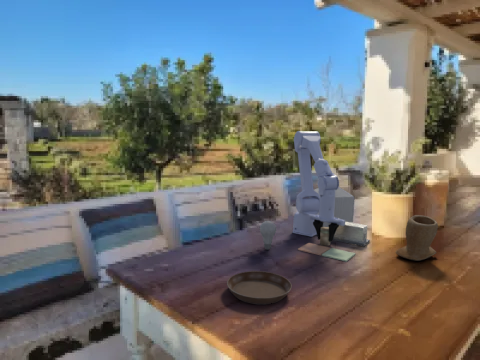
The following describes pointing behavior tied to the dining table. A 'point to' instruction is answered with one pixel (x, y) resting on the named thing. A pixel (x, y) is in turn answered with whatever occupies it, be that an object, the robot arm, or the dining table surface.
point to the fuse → (324, 236)
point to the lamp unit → (352, 234)
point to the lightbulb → (267, 233)
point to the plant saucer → (259, 287)
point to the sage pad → (338, 254)
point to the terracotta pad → (314, 249)
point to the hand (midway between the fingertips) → (325, 240)
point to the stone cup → (419, 238)
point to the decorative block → (342, 205)
